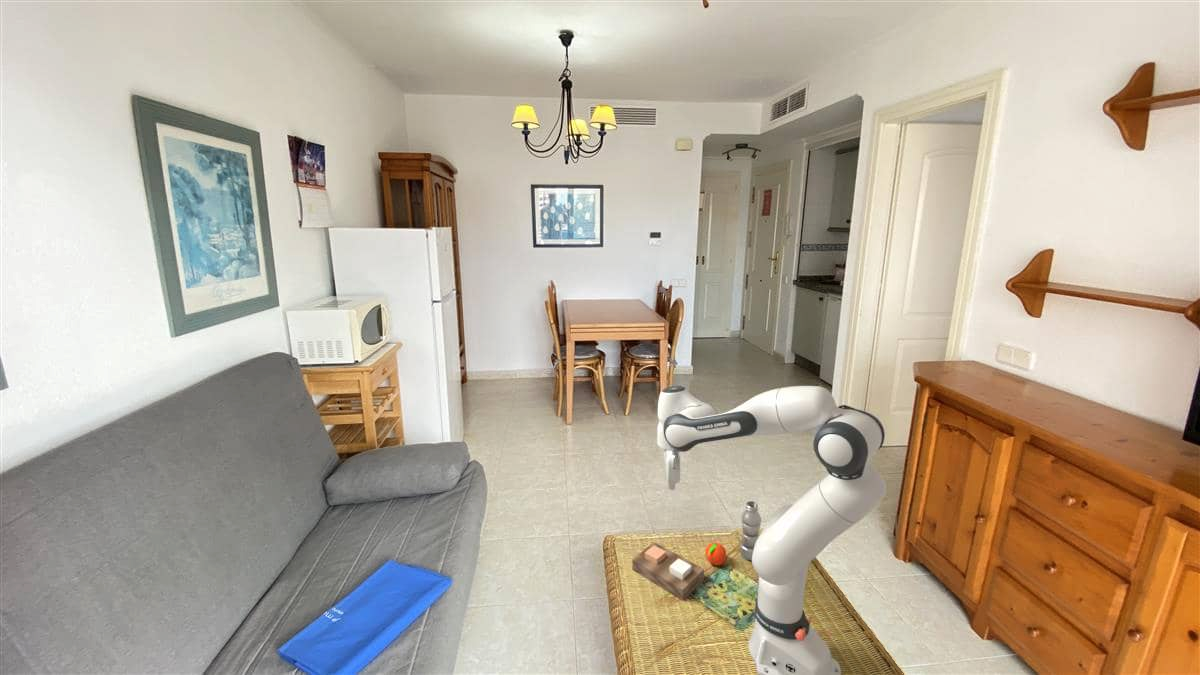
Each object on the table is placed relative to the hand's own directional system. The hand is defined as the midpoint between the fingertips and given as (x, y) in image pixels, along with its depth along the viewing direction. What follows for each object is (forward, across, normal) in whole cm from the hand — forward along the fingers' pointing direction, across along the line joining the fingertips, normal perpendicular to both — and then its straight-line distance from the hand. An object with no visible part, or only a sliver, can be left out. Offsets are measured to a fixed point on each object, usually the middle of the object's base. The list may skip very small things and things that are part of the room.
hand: (670, 480), depth 146 cm
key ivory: (+33, -1, -4) cm, 33 cm away
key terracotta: (+33, +5, +4) cm, 33 cm away
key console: (+36, +2, 0) cm, 36 cm away
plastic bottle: (+36, +12, -29) cm, 47 cm away
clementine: (+36, +8, -16) cm, 40 cm away
